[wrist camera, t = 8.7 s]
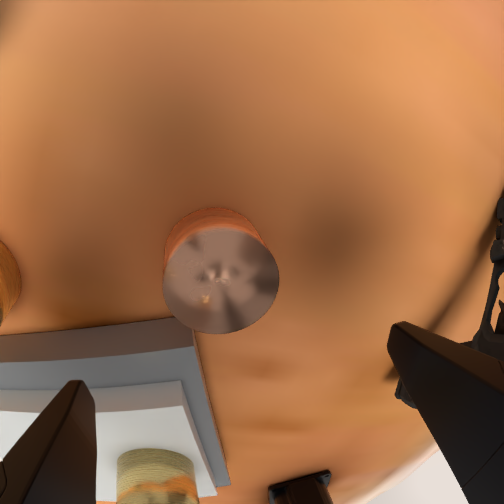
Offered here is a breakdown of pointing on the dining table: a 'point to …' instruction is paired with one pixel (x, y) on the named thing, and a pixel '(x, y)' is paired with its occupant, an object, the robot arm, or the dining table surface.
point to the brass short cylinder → (155, 478)
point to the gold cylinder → (8, 281)
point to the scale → (118, 393)
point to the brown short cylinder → (218, 272)
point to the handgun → (485, 340)
